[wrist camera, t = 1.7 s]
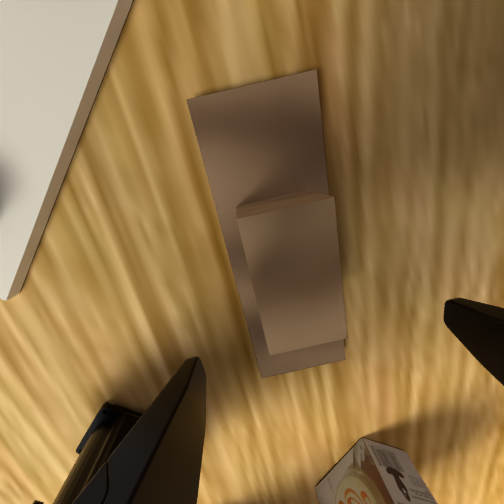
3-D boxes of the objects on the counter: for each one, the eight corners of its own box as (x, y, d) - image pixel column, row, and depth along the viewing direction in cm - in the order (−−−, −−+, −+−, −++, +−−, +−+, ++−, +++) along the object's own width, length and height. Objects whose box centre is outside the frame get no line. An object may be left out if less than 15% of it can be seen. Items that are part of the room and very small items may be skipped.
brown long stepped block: (337, 346, 20) (372, 406, 15) (259, 363, 20) (268, 429, 15) (308, 79, 14) (352, 23, 8) (191, 107, 14) (164, 68, 8)
